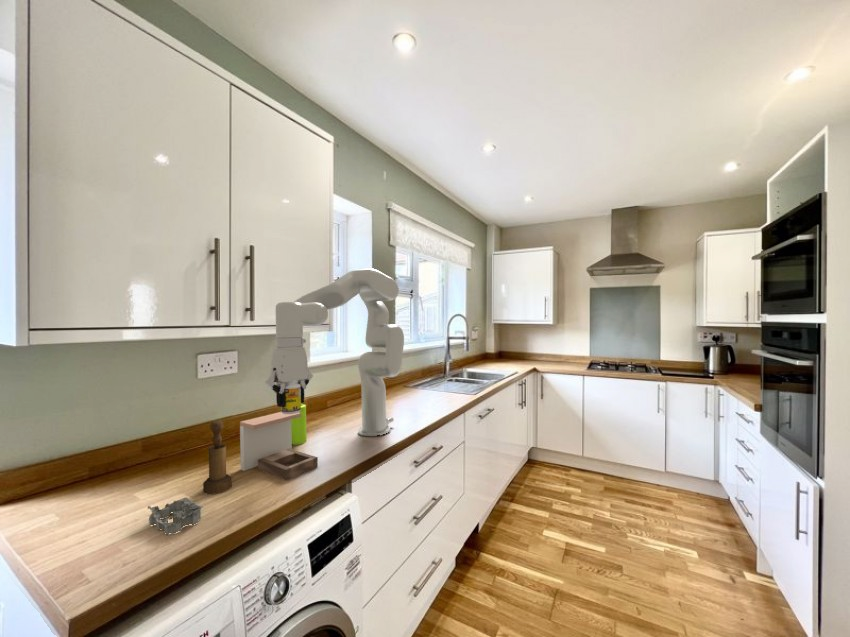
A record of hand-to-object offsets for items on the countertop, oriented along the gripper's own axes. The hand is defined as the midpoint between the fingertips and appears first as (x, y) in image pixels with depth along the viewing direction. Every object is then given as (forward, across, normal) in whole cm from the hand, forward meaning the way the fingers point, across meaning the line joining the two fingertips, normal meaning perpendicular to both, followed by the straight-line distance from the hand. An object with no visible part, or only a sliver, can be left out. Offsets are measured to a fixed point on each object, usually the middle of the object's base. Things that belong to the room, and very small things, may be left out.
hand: (290, 403), depth 105 cm
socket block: (+19, 0, -2) cm, 19 cm away
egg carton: (+20, +31, +3) cm, 37 cm away
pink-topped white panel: (+19, 0, -10) cm, 22 cm away
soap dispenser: (+20, -16, -20) cm, 32 cm away
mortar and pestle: (+20, +18, -6) cm, 28 cm away
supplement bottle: (+3, 0, 0) cm, 3 cm away
